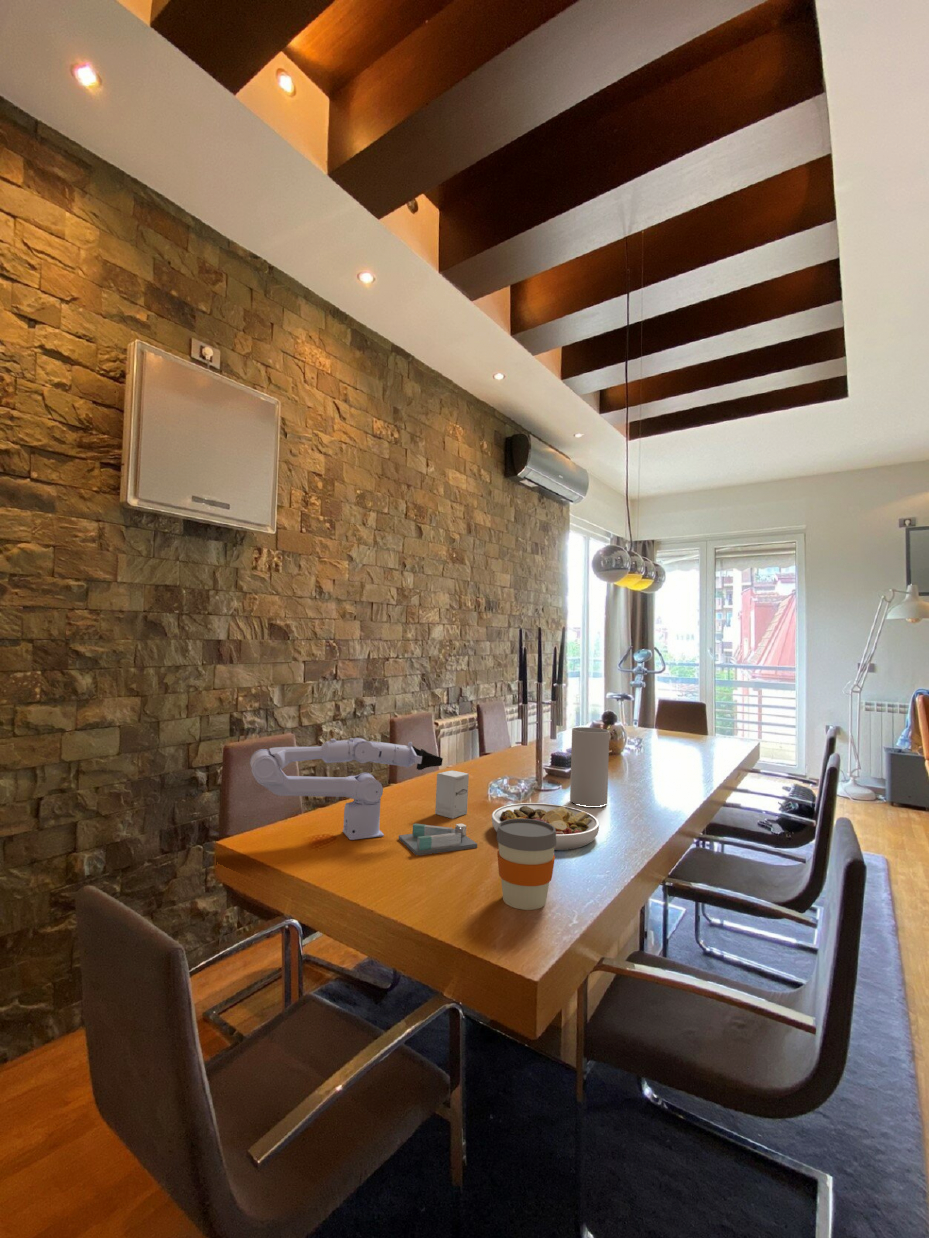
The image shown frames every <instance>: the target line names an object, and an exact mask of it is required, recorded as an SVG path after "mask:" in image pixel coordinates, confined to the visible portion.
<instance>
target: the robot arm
mask: <svg viewBox="0 0 929 1238" xmlns="http://www.w3.org/2000/svg"><path fill="white" fill-rule="evenodd" d="M329 739H330V740H327V741H324V742H323V744H322V745H321V746H319V745H318V746H279V747H270V748H269V749H266V748H260V749H258V750H256V751H254V752H253V753H252V754H251V756H250V759H249V765H250V768H251V774H252V776H253V777H254V779H255V781H256V782H257V784H259V785H261V786H263V787H264V788H266V789H267V790H268V791H270V792H271V793H273V794H274V795H276V796H279V797H280V796H281V797H282V796H283V797H287V796H288V797H334V798H335V797H339V798H341V797H345V798H349V799H352V800H353V801H350V802H346V803H345V805H344V808H343V809H344V812H343V828H342V832H343V834H344V835H345V836H346V838H348V839H349V841H353V840H354V841H355V840H360V839H361V840H363V839H371V838H377V837H379V838H381V837H384V836H385V834H384V833H383V832H382V830H380V823H381V821H380V819H381V797H382V796H383V794H384V787H383V785H382V783H381V782H380V781H379V780H377V779H376V778H375V777H374V775H372V774H371V773H370V772H361V773H359V774H357V775H349V776H345V777H338V776H335V777H334V776H306V775H303V776H301V775H287V774H286V773H285V772H284V771H283V769H284V768H285V767H287V766H288V765H289V764H290V763H293V762H302V761H311V760H321V761H323V762H324V763H325V764H333V763H346V762H349V763H350V762H352V761H354V760H355V761H357V762H358V763H360V764H366V763H368V762H370V763H375V764H383V765H391V766H400V767H405V768H410V767H411V766H413V765H415V764H416V770H418V771H422V770H424V769H426V768H432V767H434V768H435V767H440V766H442V765H443V757H441V756H438V755H436V754H432V753H429V752H428V751H426V750H425V749H423V748H420V749H419V748H416V746H414V744H413V742H412V741H408V742H407V745H404V744H398V743H390V742H381V741H371V740H370V741H368V740H366V739H364V738H362V737H361V738H360V737H354V738H353V737H351V738H349V739H347V740H346V739H345V740H344V739H342V740H337V739H336V738H329Z"/></svg>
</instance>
